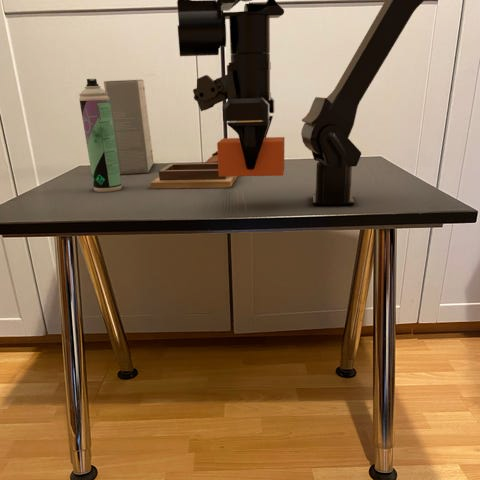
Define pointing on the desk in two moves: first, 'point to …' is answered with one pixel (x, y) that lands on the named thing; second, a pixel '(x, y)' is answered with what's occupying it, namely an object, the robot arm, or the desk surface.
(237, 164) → the orange rectangular block
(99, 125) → the spray can
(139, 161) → the hard drive box
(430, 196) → the desk surface
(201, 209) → the desk surface
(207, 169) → the wooden tray
